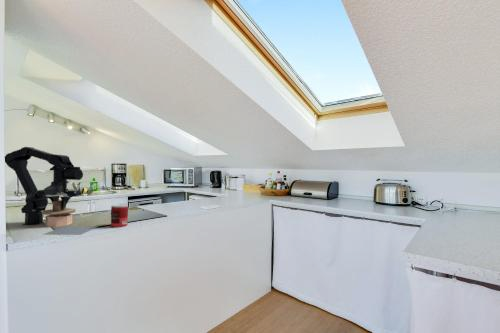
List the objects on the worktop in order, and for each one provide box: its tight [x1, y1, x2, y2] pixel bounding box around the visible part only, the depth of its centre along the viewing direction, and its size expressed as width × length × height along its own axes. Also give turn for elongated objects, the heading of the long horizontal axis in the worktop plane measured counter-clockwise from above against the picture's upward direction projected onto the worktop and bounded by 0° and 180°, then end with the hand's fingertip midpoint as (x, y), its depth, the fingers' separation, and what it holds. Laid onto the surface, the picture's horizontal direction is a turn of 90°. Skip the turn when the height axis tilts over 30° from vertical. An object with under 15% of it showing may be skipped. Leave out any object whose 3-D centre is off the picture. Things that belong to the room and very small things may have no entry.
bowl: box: [44, 213, 73, 228], centre depth 133 cm, size 10×10×5 cm
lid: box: [42, 199, 76, 216], centre depth 133 cm, size 14×14×6 cm
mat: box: [42, 225, 100, 236], centre depth 122 cm, size 16×16×1 cm
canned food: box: [110, 203, 129, 228], centre depth 133 cm, size 8×8×11 cm
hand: (59, 209), depth 133 cm, fingers closed on lid, 3 cm apart
